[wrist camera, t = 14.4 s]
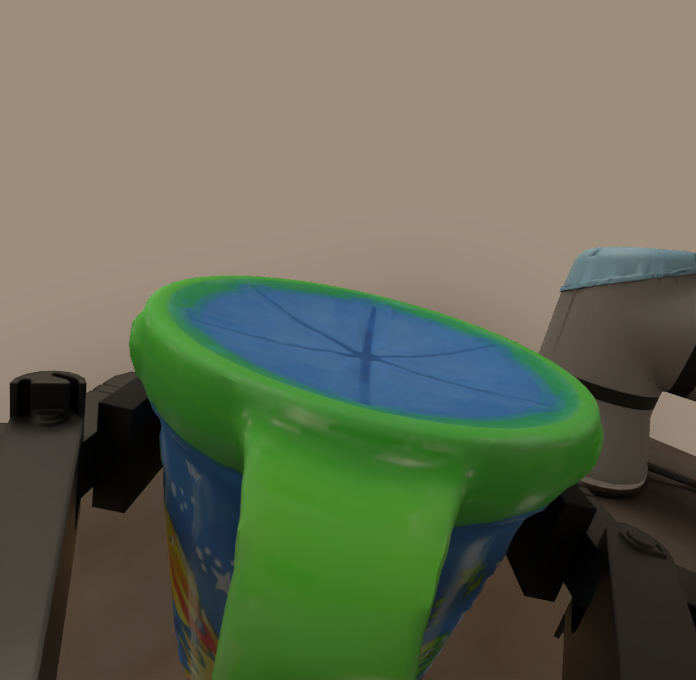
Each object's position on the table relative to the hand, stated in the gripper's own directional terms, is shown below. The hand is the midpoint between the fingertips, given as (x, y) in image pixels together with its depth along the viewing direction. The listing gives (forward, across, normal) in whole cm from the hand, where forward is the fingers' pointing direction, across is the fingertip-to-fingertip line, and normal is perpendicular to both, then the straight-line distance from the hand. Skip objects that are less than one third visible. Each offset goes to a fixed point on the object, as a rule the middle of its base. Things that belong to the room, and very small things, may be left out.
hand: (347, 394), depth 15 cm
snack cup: (-4, 0, -6) cm, 8 cm away
